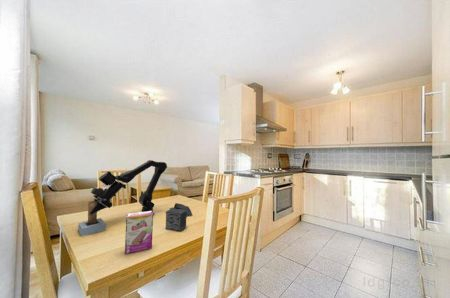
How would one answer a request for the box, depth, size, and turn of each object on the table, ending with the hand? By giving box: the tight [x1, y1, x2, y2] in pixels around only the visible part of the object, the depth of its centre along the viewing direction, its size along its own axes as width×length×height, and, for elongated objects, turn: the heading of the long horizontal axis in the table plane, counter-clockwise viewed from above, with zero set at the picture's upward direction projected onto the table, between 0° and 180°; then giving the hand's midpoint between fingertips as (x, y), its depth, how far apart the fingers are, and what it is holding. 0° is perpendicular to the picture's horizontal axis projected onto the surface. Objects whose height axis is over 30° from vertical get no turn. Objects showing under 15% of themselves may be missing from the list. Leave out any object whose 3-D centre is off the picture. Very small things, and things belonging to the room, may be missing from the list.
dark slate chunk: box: [169, 202, 194, 217], centre depth 129 cm, size 15×22×5 cm
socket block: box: [77, 217, 106, 237], centre depth 98 cm, size 10×10×4 cm
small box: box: [165, 208, 187, 233], centre depth 102 cm, size 11×6×10 cm, turn 71°
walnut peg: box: [87, 200, 98, 226], centre depth 98 cm, size 4×4×12 cm
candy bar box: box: [124, 211, 154, 255], centre depth 80 cm, size 11×5×16 cm, turn 118°
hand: (89, 213), depth 97 cm, fingers closed on walnut peg, 4 cm apart
